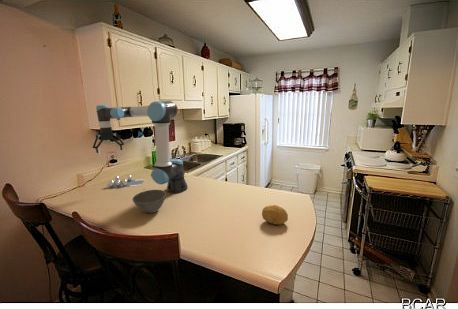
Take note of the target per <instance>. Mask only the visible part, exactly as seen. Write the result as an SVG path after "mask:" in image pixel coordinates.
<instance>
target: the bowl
mask: <svg viewBox="0 0 458 309" xmlns="http://www.w3.org/2000/svg"><path fill="white" fill-rule="evenodd" d="M166 195H167V193H166V191H165V190H162V189H149V190H143V191H141V192H139V193H137V194H135V195H134V196H133V197H132V202H133V203H134V205H135V206H136V207H137V208H138V209H139V210H140V211H142V212H143V213H146V214H152V213H155V212H157V211H159V210H160V209H161V208H162V206H163V204H164V202H165V198H166Z"/></svg>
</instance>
